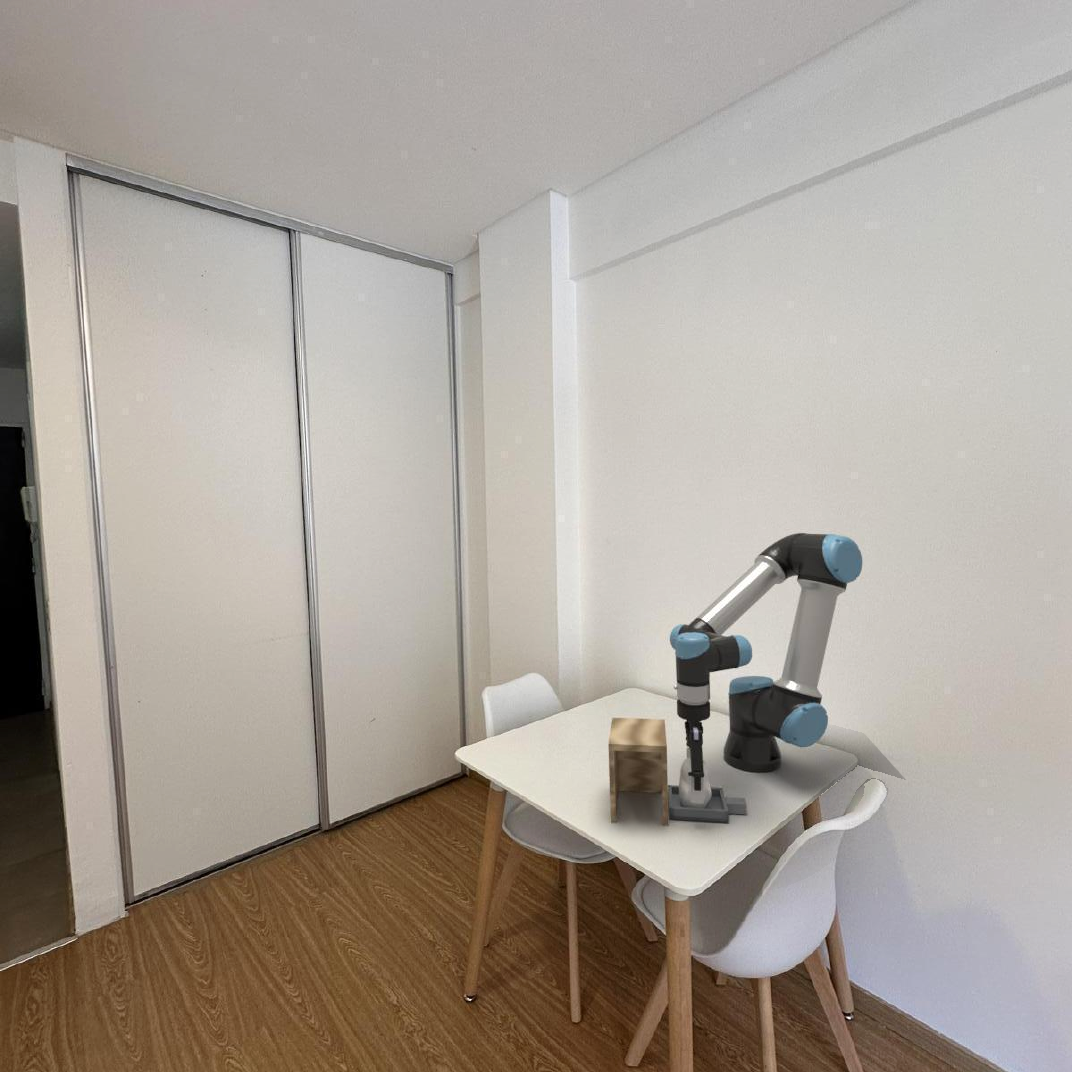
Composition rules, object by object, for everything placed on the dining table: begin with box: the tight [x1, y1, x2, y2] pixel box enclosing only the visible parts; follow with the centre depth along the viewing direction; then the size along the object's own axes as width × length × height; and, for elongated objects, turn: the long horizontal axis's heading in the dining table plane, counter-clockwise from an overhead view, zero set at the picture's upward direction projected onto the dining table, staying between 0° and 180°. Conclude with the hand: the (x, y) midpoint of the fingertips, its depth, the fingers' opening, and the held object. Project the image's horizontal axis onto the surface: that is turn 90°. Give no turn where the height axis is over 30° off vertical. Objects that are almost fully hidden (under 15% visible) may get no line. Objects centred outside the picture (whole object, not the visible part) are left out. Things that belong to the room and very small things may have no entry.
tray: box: [668, 784, 748, 824], centre depth 140 cm, size 18×11×3 cm, turn 80°
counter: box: [608, 717, 670, 827], centre depth 143 cm, size 13×16×18 cm
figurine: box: [678, 756, 712, 808], centre depth 141 cm, size 7×8×12 cm
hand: (695, 787), depth 141 cm, fingers open, 13 cm apart
